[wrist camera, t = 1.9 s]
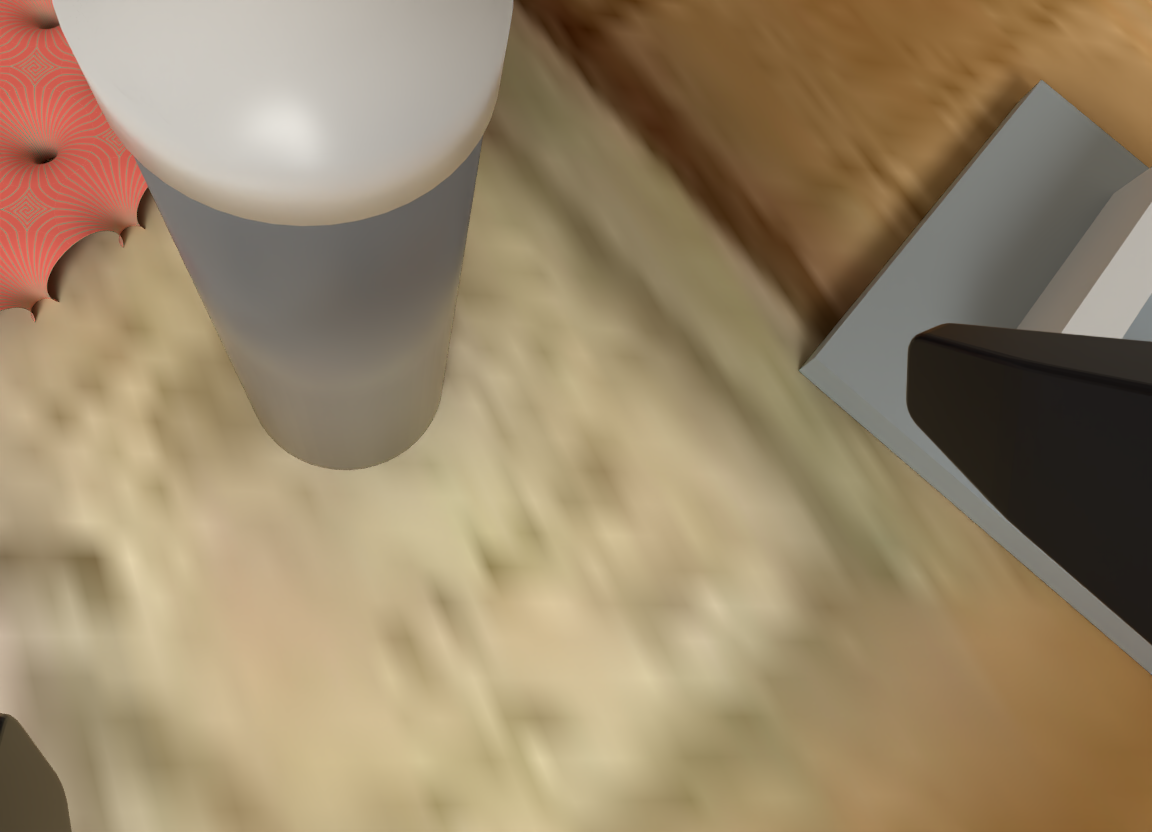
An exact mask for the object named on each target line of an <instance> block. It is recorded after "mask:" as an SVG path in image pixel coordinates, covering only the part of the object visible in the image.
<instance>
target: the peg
mask: <svg viewBox="0 0 1152 832" xmlns="http://www.w3.org/2000/svg"><path fill="white" fill-rule="evenodd" d="M52 3H53V6H54V9H55V12H56V15H57V18H58V21H59V24H60V27H61V29H62V32H63V34H64V36H65V38H66V40H67V42H68V44H69V46H70V48H71V50H72V52H73V54H74V56H75V58H76V60H77V62H78V64H79V66H80V68H81V70H82V72H83V74H84V76H85V78H86V80H87V82H88V84H89V86H90V88H91V91H92V93H93V95H94V97H95V99H96V101H97V103H98V105H99V107H100V108H101V110H102V112H103V114H104V116H105V118H106V120H107V122H108V123H109V125H110V127H111V128H112V130H113V131H114V133H115V134H116V135H117V137H118V138H119V139H120V141H121V142H122V143H123V145H124V146H125V147H126V149H127V150H128V151H129V152H130V153H131V154H132V155H133V156H134V158H135V160H136V162H137V164H138V167H139V169H140V171H141V173H142V175H143V177H144V179H145V181H146V183H147V186H148V188H149V190H150V192H151V194H152V196H153V198H154V200H155V202H156V204H157V207H158V209H159V211H160V213H161V215H162V217H163V219H164V221H165V223H166V226H167V228H168V230H169V232H170V234H171V236H172V238H173V240H174V242H175V245H176V247H177V249H178V251H179V253H180V255H181V257H182V259H183V261H184V264H185V266H186V268H187V270H188V272H189V274H190V276H191V278H192V280H193V283H194V285H195V287H196V289H197V291H198V293H199V295H200V297H201V299H202V302H203V304H204V306H205V308H206V310H207V312H208V314H209V316H210V318H211V320H212V323H213V325H214V327H215V329H216V331H217V333H218V335H219V337H220V339H221V342H222V344H223V346H224V348H225V350H226V352H227V354H228V356H229V358H230V361H231V363H232V365H233V367H234V369H235V371H236V373H237V375H238V377H239V380H240V382H241V384H242V386H243V388H244V390H245V392H246V394H247V396H248V399H249V401H250V403H251V405H252V407H253V409H254V411H255V413H256V415H257V417H258V419H259V421H260V423H261V425H262V426H263V428H264V429H265V430H266V432H267V433H268V435H269V436H270V437H271V438H272V439H273V440H274V441H275V442H276V443H277V444H278V445H279V446H280V447H282V448H283V449H284V450H285V451H287V452H288V453H290V454H291V455H293V456H295V457H296V458H298V459H300V460H302V461H305V462H307V463H309V464H312V465H316V466H319V467H323V468H329V469H336V470H353V469H363V468H367V467H372V466H376V465H378V464H381V463H384V462H387V461H389V460H391V459H393V458H395V457H396V456H398V455H400V454H401V453H403V452H404V451H406V450H407V449H408V448H410V447H411V446H412V445H413V444H414V443H415V442H416V441H417V440H418V439H419V438H420V437H421V436H422V435H423V434H424V432H425V431H426V430H427V428H428V427H429V425H430V423H431V422H432V420H433V418H434V416H435V414H436V412H437V409H438V406H439V402H440V399H441V393H442V387H443V381H444V374H445V368H446V362H447V356H448V350H449V343H450V337H451V331H452V325H453V319H454V312H455V306H456V300H457V294H458V288H459V281H460V275H461V269H462V263H463V257H464V250H465V244H466V238H467V232H468V226H469V219H470V213H471V207H472V201H473V194H474V188H475V182H476V176H477V170H478V163H479V157H480V151H481V145H482V139H483V134H484V132H485V130H486V128H487V126H488V124H489V122H490V120H491V117H492V114H493V111H494V108H495V105H496V102H497V98H498V93H499V87H500V81H501V76H502V70H503V64H504V58H505V53H506V47H507V41H508V36H509V30H510V24H511V18H512V12H513V0H52Z"/></svg>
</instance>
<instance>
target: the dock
mask: <svg viewBox="0 0 1152 832" xmlns="http://www.w3.org/2000/svg"><path fill="white" fill-rule="evenodd" d="M945 323H957V324H968V325H979V326H989V327H1000V328H1011V329H1022V330H1032V331H1043V332H1054V333H1065V334H1076V335H1086V336H1097V337H1108V338H1119V339H1129V340H1140V341H1151V342H1152V167H1151V168H1148V167H1147V166H1146V165H1144V164H1143V163H1142V162H1141V161H1140V160H1138V159H1137V158H1136V157H1135V156H1134V155H1132V154H1131V153H1130V152H1129V151H1127V150H1126V149H1125V148H1124V147H1123V146H1121V145H1120V144H1119V143H1118V142H1117V141H1115V140H1114V139H1113V138H1112V137H1110V136H1109V135H1108V134H1107V133H1106V132H1104V131H1103V130H1102V129H1101V128H1100V127H1098V126H1097V125H1096V124H1095V123H1093V122H1092V121H1091V120H1090V119H1089V118H1087V117H1086V116H1085V115H1084V114H1083V113H1081V112H1080V111H1079V110H1078V109H1076V108H1075V107H1074V106H1073V105H1072V104H1070V103H1069V102H1068V101H1067V100H1066V99H1064V98H1063V97H1062V96H1061V95H1059V94H1058V93H1057V92H1056V91H1055V90H1053V89H1052V88H1051V87H1050V86H1049V85H1047V84H1046V83H1045V82H1044V81H1042V80H1041V81H1040V82H1039V83H1038V84H1036V85H1035V86H1034V87H1033V88H1032V89H1031V90H1030V91H1029V92H1028V93H1027V94H1026V95H1025V96H1024V97H1023V98H1022V99H1021V100H1020V101H1019V102H1018V103H1017V105H1016V106H1015V107H1014V108H1013V109H1012V111H1011V112H1010V113H1009V114H1008V116H1007V117H1006V118H1005V119H1004V120H1003V122H1002V123H1001V124H1000V125H999V127H998V128H997V129H996V130H995V131H994V133H993V134H992V135H991V136H990V138H989V139H988V140H987V141H986V142H985V144H984V145H983V146H982V147H981V149H980V150H979V151H978V152H977V153H976V155H975V156H974V157H973V158H972V160H971V161H970V162H969V163H968V164H967V166H966V167H965V168H964V169H963V170H962V172H961V173H960V174H959V175H958V177H957V178H956V179H955V180H954V181H953V183H952V184H951V185H950V186H949V188H948V189H947V190H946V191H945V192H944V194H943V195H942V196H941V197H940V199H939V200H938V201H937V202H936V203H935V205H934V206H933V207H932V208H931V210H930V211H929V212H928V213H927V214H926V216H925V217H924V218H923V219H922V221H921V222H920V223H919V224H918V225H917V227H916V228H915V229H914V230H913V232H912V233H911V234H910V235H909V236H908V238H907V239H906V240H905V241H904V243H903V244H902V245H901V246H900V247H899V249H898V250H897V251H896V252H895V254H894V255H893V256H892V257H891V258H890V260H889V261H888V262H887V263H886V265H885V266H884V267H883V268H882V269H881V271H880V272H879V273H878V274H877V276H876V277H875V278H874V279H873V280H872V282H871V283H870V284H869V285H868V287H867V288H866V289H865V290H864V291H863V293H862V294H861V295H860V296H859V298H858V299H857V300H856V301H855V302H854V304H853V305H852V306H851V307H850V309H849V310H848V311H847V312H846V313H845V315H844V316H843V317H842V318H841V320H840V321H839V322H838V323H837V324H836V326H835V327H834V328H833V329H832V331H831V332H830V333H829V334H828V335H827V337H826V338H825V339H824V340H823V342H822V343H821V344H820V345H819V346H818V348H817V349H816V350H815V351H814V353H813V354H812V355H811V356H810V357H809V359H808V360H807V361H806V362H805V364H804V365H803V366H802V367H801V368H800V370H799V371H800V372H801V373H802V374H803V375H804V376H805V377H807V378H808V379H809V380H810V381H811V382H812V383H813V384H815V385H816V386H817V387H818V388H819V389H820V390H822V391H823V392H824V393H825V394H826V395H827V396H829V397H830V398H831V399H832V400H833V401H834V402H836V403H837V404H838V405H839V406H840V407H841V408H843V409H844V410H845V411H846V412H847V413H848V414H849V415H851V416H852V417H853V418H854V419H855V420H856V421H858V422H859V423H860V424H861V425H862V426H863V427H865V428H866V429H867V430H868V431H869V432H870V433H872V434H873V435H874V436H875V437H876V438H877V439H879V440H880V441H881V442H882V443H883V444H884V445H885V446H887V447H888V448H889V449H890V450H891V451H892V452H894V453H895V454H896V455H897V456H898V457H899V458H901V459H902V460H903V461H904V462H905V463H906V464H908V465H909V466H910V467H911V468H912V469H913V470H915V471H916V472H917V473H918V474H919V475H920V476H921V477H923V478H924V479H925V480H926V481H927V482H928V483H930V484H931V485H932V486H933V487H934V488H935V489H937V490H938V491H939V492H940V493H941V494H942V495H944V496H945V497H946V498H947V499H948V500H949V501H951V502H952V503H953V504H954V505H955V506H956V507H957V508H959V509H960V510H961V511H962V512H963V513H964V514H966V515H967V516H968V517H969V518H970V519H971V520H973V521H974V522H975V523H976V524H977V525H978V526H980V527H981V528H982V529H983V530H984V531H985V532H987V533H988V534H989V535H990V536H991V537H992V538H994V539H995V540H996V541H997V542H998V543H999V544H1000V545H1002V546H1003V547H1004V548H1005V549H1006V550H1007V551H1009V552H1010V553H1011V554H1012V555H1013V556H1014V557H1016V558H1017V559H1018V560H1019V561H1020V562H1021V563H1023V564H1024V565H1025V566H1026V567H1027V568H1028V569H1030V570H1031V571H1032V572H1033V573H1034V574H1035V575H1036V576H1038V577H1039V578H1040V579H1041V580H1042V581H1043V582H1045V583H1046V584H1047V585H1048V586H1049V587H1050V588H1052V589H1053V590H1054V591H1055V592H1056V593H1057V594H1059V595H1060V596H1061V597H1062V598H1063V599H1064V600H1066V601H1067V602H1068V603H1069V604H1070V605H1071V606H1072V607H1074V608H1075V609H1076V610H1077V611H1078V612H1079V613H1081V614H1082V615H1083V616H1084V617H1085V618H1086V619H1088V620H1089V621H1090V622H1091V623H1092V624H1093V625H1095V626H1096V627H1097V628H1098V629H1099V630H1100V631H1102V632H1103V633H1104V634H1105V635H1106V636H1107V637H1108V638H1110V639H1111V640H1112V641H1113V642H1114V643H1115V644H1117V645H1118V646H1119V647H1120V648H1121V649H1122V650H1124V651H1125V652H1126V653H1127V654H1128V655H1129V656H1131V657H1132V658H1133V659H1134V660H1135V661H1136V662H1138V663H1139V664H1140V665H1141V666H1142V667H1143V668H1144V669H1146V670H1147V671H1148V672H1149V673H1150V674H1151V675H1152V645H1150V644H1149V643H1148V642H1147V641H1146V640H1145V639H1143V638H1142V637H1141V636H1140V635H1139V634H1138V633H1137V632H1135V631H1134V630H1133V629H1132V628H1131V627H1130V626H1128V625H1127V624H1126V623H1125V622H1124V621H1123V620H1121V619H1120V618H1119V617H1118V616H1117V615H1116V614H1115V613H1113V612H1112V611H1111V610H1110V609H1109V608H1108V607H1106V606H1105V605H1104V604H1103V603H1102V602H1101V601H1100V600H1098V599H1097V598H1096V597H1095V596H1094V595H1093V594H1091V593H1090V592H1089V591H1088V590H1087V589H1086V588H1085V587H1083V586H1082V585H1081V584H1080V583H1079V582H1078V581H1076V580H1075V579H1074V578H1073V577H1072V576H1071V575H1070V574H1068V573H1067V572H1066V571H1065V570H1064V569H1063V568H1061V567H1060V566H1059V565H1058V564H1057V563H1056V562H1055V561H1053V560H1052V559H1051V558H1050V557H1049V556H1048V555H1046V554H1045V553H1044V552H1043V551H1042V550H1041V549H1040V548H1038V547H1037V546H1036V545H1035V544H1034V543H1033V542H1031V541H1030V540H1029V539H1028V538H1027V537H1026V536H1025V535H1023V534H1022V533H1021V532H1020V531H1019V530H1018V529H1017V528H1016V527H1015V526H1013V525H1012V524H1011V523H1010V522H1009V521H1008V520H1007V519H1006V518H1005V517H1004V516H1003V515H1002V514H1001V513H1000V512H999V511H998V510H997V509H996V508H995V507H994V506H993V505H992V504H991V503H990V502H989V501H988V500H987V499H986V498H985V497H984V496H983V495H982V494H981V493H980V492H979V491H978V489H977V488H976V487H975V486H974V485H973V484H972V483H971V482H970V481H969V480H968V479H967V478H966V477H965V476H964V475H963V474H962V473H961V472H960V470H959V469H958V468H957V467H956V466H955V465H954V464H953V463H952V462H951V461H950V460H949V459H948V458H947V457H946V456H945V455H944V454H943V453H942V451H941V450H940V449H939V448H938V447H937V446H936V445H935V444H934V443H933V442H932V441H931V440H930V439H929V438H928V437H927V436H926V435H925V434H924V433H923V431H922V430H921V429H920V428H919V427H918V426H917V425H916V424H915V423H914V421H913V420H912V418H911V416H910V414H909V412H908V409H907V405H906V383H907V354H908V346H909V344H910V342H911V339H912V338H913V337H914V336H915V335H917V334H919V333H921V332H924V331H926V330H928V329H931V328H933V327H936V326H938V325H941V324H945Z"/></svg>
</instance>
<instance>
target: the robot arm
mask: <svg viewBox="0 0 1152 832" xmlns="http://www.w3.org/2000/svg"><path fill="white" fill-rule="evenodd" d="M906 405H907V409H908V412H909V414H910V416H911V418H912V420H913V421H914V423H915V424H916V425H917V426H918V427H919V428H920V429H921V430H922V431H923V433H924V434H925V435H926V436H927V437H928V438H929V439H930V440H931V441H932V442H933V443H934V444H935V445H936V446H937V447H938V448H939V449H940V450H941V451H942V453H943V454H944V455H945V456H946V457H947V458H948V459H949V460H950V461H951V462H952V463H953V464H954V465H955V466H956V467H957V468H958V469H959V470H960V472H961V473H962V474H963V475H964V476H965V477H966V478H967V479H968V480H969V481H970V482H971V483H972V484H973V485H974V486H975V487H976V488H977V489H978V491H979V492H980V493H981V494H982V495H983V496H984V497H985V498H986V499H987V500H988V501H989V502H990V503H991V504H992V505H993V506H994V507H995V508H996V509H997V510H998V511H999V512H1000V513H1001V514H1002V515H1003V516H1004V517H1005V518H1006V519H1007V520H1008V521H1009V522H1010V523H1011V524H1012V525H1013V526H1015V527H1016V528H1017V529H1018V530H1019V531H1020V532H1021V533H1022V534H1023V535H1025V536H1026V537H1027V538H1028V539H1029V540H1030V541H1031V542H1033V543H1034V544H1035V545H1036V546H1037V547H1038V548H1040V549H1041V550H1042V551H1043V552H1044V553H1045V554H1046V555H1048V556H1049V557H1050V558H1051V559H1052V560H1053V561H1055V562H1056V563H1057V564H1058V565H1059V566H1060V567H1061V568H1063V569H1064V570H1065V571H1066V572H1067V573H1068V574H1070V575H1071V576H1072V577H1073V578H1074V579H1075V580H1076V581H1078V582H1079V583H1080V584H1081V585H1082V586H1083V587H1085V588H1086V589H1087V590H1088V591H1089V592H1090V593H1091V594H1093V595H1094V596H1095V597H1096V598H1097V599H1098V600H1100V601H1101V602H1102V603H1103V604H1104V605H1105V606H1106V607H1108V608H1109V609H1110V610H1111V611H1112V612H1113V613H1115V614H1116V615H1117V616H1118V617H1119V618H1120V619H1121V620H1123V621H1124V622H1125V623H1126V624H1127V625H1128V626H1130V627H1131V628H1132V629H1133V630H1134V631H1135V632H1137V633H1138V634H1139V635H1140V636H1141V637H1142V638H1143V639H1145V640H1146V641H1147V642H1148V643H1149V644H1150V645H1152V342H1151V341H1140V340H1129V339H1119V338H1108V337H1097V336H1086V335H1076V334H1065V333H1054V332H1043V331H1032V330H1022V329H1011V328H1000V327H989V326H979V325H968V324H957V323H945V324H941V325H938V326H936V327H933V328H931V329H928V330H926V331H924V332H921V333H919V334H917V335H915V336H914V337H913V338H912V339H911V342H910V344H909V346H908V354H907V383H906ZM0 832H72V831H71V824H70V818H69V811H68V804H67V799H66V796H65V792H64V789H63V786H62V784H61V782H60V780H59V778H58V776H57V774H56V773H55V771H54V770H53V768H52V767H51V766H50V764H49V763H48V762H47V760H46V759H45V757H44V756H43V755H42V753H41V752H40V750H39V749H38V748H37V746H36V745H35V744H34V742H33V741H32V739H31V738H30V737H29V735H28V734H27V733H26V731H25V730H24V728H23V727H22V726H21V724H20V723H19V722H18V721H17V720H16V719H15V718H13V717H12V716H11V715H9V714H2V713H0Z"/></svg>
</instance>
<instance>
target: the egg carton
mask: <svg viewBox="0 0 1152 832" xmlns="http://www.w3.org/2000/svg"><path fill="white" fill-rule="evenodd" d="M50 158H54V159H53V160H52V161H50V162H48V163H45V164H41V163H42V162H43V161H45V160H47V159H50ZM147 188H148V186H147V183H146V181H145V179H144V177H143V175H142V173H141V171H140V169H139V167H138V164H137V162H136V160H135V158H134V156H133V155H132V154H131V153H130V152H129V151H128V150H127V149H126V147H125V146H124V145H123V143H122V142H121V141H120V139H119V138H118V137H117V135H116V134H115V133H114V131H113V130H112V128H111V127H110V125H109V123H108V122H107V120H106V118H105V116H104V114H103V112H102V110H101V108H100V107H99V105H98V103H97V101H96V99H95V97H94V95H93V93H92V91H91V88H90V86H89V84H88V82H87V80H86V78H85V76H84V74H83V72H82V70H81V68H80V66H79V64H78V62H77V60H76V58H75V56H74V54H73V52H72V50H71V48H70V46H69V44H68V42H67V40H66V38H65V36H64V34H63V32H62V29H61V27H60V24H59V21H58V18H57V15H56V12H55V9H54V6H53V3H52V0H0V311H2V310H5V309H9V308H25V309H27V310H29V311H31V309H32V307H33V305H34V304H35V303H36V302H37V301H39V300H41V299H44V298H51V297H50V296H49V294H48V292H47V282H48V278H49V275H50V273H51V271H52V269H53V267H54V265H55V264H56V262H57V261H58V260H59V259H60V257H61V256H62V255H63V254H64V253H65V252H66V251H67V250H68V249H69V248H70V247H71V246H73V245H74V244H75V243H77V242H78V241H80V240H81V239H83V238H85V237H86V236H89V235H91V234H93V233H96V232H100V231H113V232H116V233H118V234H119V235H120V233H121V232H122V231H123V230H124V229H125V228H127V227H129V226H140V225H139V223H138V221H137V208H138V205H139V202H140V200H141V197H142V196H143V194H144V192H145V191H146V189H147ZM142 228H143V227H142ZM144 229H145V228H144ZM119 242H120V245H121V246H122V247H123V240H122V238H121V236H119ZM53 300H55V301H58V300H56V299H53ZM58 302H59V301H58ZM31 317H32V319H33V321H34V322H35V318H34V315H33V314H32V312H31Z"/></svg>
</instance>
